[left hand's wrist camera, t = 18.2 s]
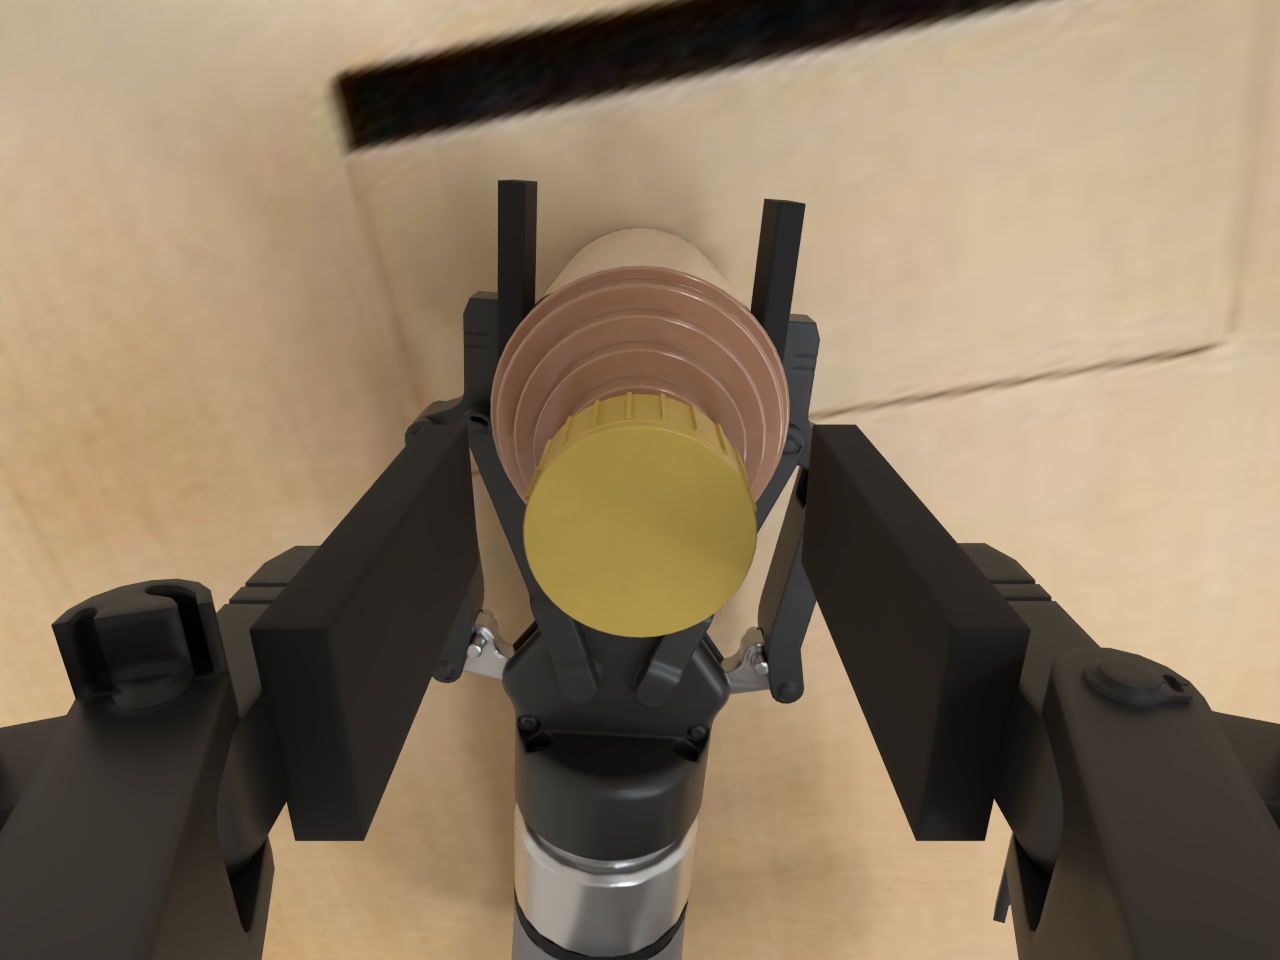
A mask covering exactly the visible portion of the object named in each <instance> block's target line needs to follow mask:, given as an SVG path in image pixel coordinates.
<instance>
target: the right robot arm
mask: <svg viewBox="0 0 1280 960" xmlns="http://www.w3.org/2000/svg"><path fill="white" fill-rule="evenodd" d="M804 211H805V204H804V203H798V202H793V201H787V200H774V199H764V207H763V215H762V223H761V231H760V239H759V247H758V255H757V264H756V272H755V280H754V288H753V296H752V304H751V313H752V315H753V316H754V317H755V318H756V320H757V321H758V322H759V324H760V325H761V326H762V327H763V329H764V330H765V331H766V333H767V335H768V336H769V338H770V340H771V342H772V343H773V345H774V347H775V349H776V351H777V353H778V356H779V358H780V361H781V363H782V366H783V369H784V373H785V377H786V381H787V385H788V394H789V403H790V406H789V426H788V432H787V438H786V443H785V446H784V449H783V453H782V456H781V459H780V461H779V463H778V466H777V468H776V470H775V472H774V474H773V476H772V478H771V480H770V481H769V483H768V485H767V486H766V488H765V489H764V491H763V493H762V494H761V496H760V497H759V499H758V500H757V501H756V503H755V504H756V507H757V511H755V515H756V520H757V533H758V532H759V530H760V528H761V526H762V525H763V523H764V521H765V519H766V518H767V516H768V514H769V513H770V511H771V509H772V507H773V506H774V504H775V502H776V500H777V499H778V497H779V495H780V494H781V492H782V490H783V488H784V487H785V485H786V483H787V481H788V480H789V478H790V476H791V475H792V473H793V471H794V469H795V468H796V466H797V465H798V466H800V467H799V470H798V474H797V477H796V480H795V484H794V487H793V491H792V494H791V497H790V501H789V504H788V508H787V511H786V514H785V518H784V521H783V524H782V528H781V531H780V535H779V538H778V541H777V545H776V548H775V551H774V555H773V558H772V562H771V565H770V568H769V572H768V575H767V578H766V582H765V585H764V589H763V592H762V595H761V599H760V604H759V610H758V627H751V628H749V629H748V630H747V631H746V634H745V635H744V636H743V638H742V639H741V643H740V648H739V650H738V651H737V653H736V654H734V655H733V656H731V657H729V658H724V657H723V656H722V655H721V653H720V652H719V650H718V649H717V647H716V646H715V644H714V643H713V641H712V640H711V639H710V637H709V636H708V634H707V633H706V631H707V629H708V628H709V626H710V624H711V622H712V619H713V617H714V614H712V615H711V616H710V617H708V618H706V619H705V620H703V621H701V622H700V623H698V624H696V625H693V626H691V627H689V628H687V629H684V630H681V631H678V632H674V633H671V634H666V635H661V636H654V637H626V636H619V635H613V634H609V633H606V632H602V631H599V630H596V629H594V628H591V627H589V626H586V625H584V624H583V623H581V622H579V621H577V620H575V619H573V618H572V617H571V616H569V615H568V614H566V613H565V612H564V611H562V610H561V609H560V608H559V607H558V606H557V605H556V604H554V603H553V602H552V601H551V599H550V598H549V597H548V596H547V595H546V594H545V592H544V591H543V590H542V588H541V587H540V585H539V584H538V582H537V581H536V579H535V577H534V575H533V573H532V571H531V569H530V566H529V563H528V560H527V557H526V554H525V548H524V542H523V521H524V514H525V509H526V506H527V505H526V504H525V503H524V501H523V500H522V499H521V497H520V496H519V495H518V493H517V491H516V490H515V488H514V486H513V485H512V483H511V481H510V479H509V478H508V476H507V474H506V472H505V471H504V468H503V466H502V463H501V461H500V459H499V456H498V454H497V450H496V446H495V442H494V438H493V433H492V425H491V393H492V387H493V380H494V376H495V373H496V370H497V366H498V363H499V360H500V358H501V356H502V354H503V351H504V349H505V347H506V345H507V343H508V341H509V340H510V338H511V336H512V335H513V333H514V332H515V330H516V329H517V327H518V326H519V324H520V323H521V322H522V321H523V319H524V318H525V317H526V316H527V314H528V313H529V312H530V311H531V309H532V308H533V307H534V306H535V271H536V221H537V181H524V180H498V292H484V291H478V292H477V293H476V294H474V295H473V296H472V297H470V299H469V301H468V304H467V306H466V309H465V311H464V314H463V323H464V395H463V396H461V397H459V398H456V399H453V400H449V401H436V402H433V403H431V404H430V405H429V406H428V407H427V408H426V409H425V410H424V411H423V412H422V413H421V414H420V416H419V417H418V418H417V419H416V420H415V421H414V422H413V423H412V424H411V425H410V427H409V428H408V430H407V432H406V434H405V443H406V445H407V444H408V443H409V442H410V441H411V440H412V438H413V437H414V436H415V435H416V434H417V433H418V431H419V430H420V429H421V428H422V427H423V426H424V425H467V429H468V440H469V446H470V449H471V451H472V453H473V456H474V458H475V461H476V463H477V466H478V468H479V471H480V473H481V475H482V478H483V480H484V483H485V485H486V488H487V490H488V493H489V495H490V498H491V500H492V502H493V505H494V507H495V510H496V512H497V515H498V517H499V520H500V522H501V524H502V527H503V529H504V532H505V534H506V537H507V539H508V542H509V544H510V547H511V549H512V551H513V554H514V556H515V559H516V561H517V564H518V566H519V569H520V571H521V573H522V576H523V578H524V581H525V583H526V586H527V588H528V591H529V595H530V604H531V609H532V612H533V615H534V618H535V621H534V622H533V623H532V624H531V625H530V626H529V627H528V629H527V630H526V631H525V632H524V633H523V634H522V635H521V636H520V637H519V638H518V640H517V641H516V642H515V643H514V644H513V645H510V644H508V643H506V642H504V641H503V640H502V639H501V637H500V636H499V633H498V624H497V621H496V620H495V619H494V617H493V614H492V613H491V611H489V610H482V607H483V601H484V580H483V573H482V566H481V559H480V553H479V546H478V555H479V563H478V566H477V568H476V571H475V573H474V576H473V578H472V580H471V583H470V585H469V588H468V590H467V592H466V595H465V597H464V600H463V602H462V605H461V607H460V609H459V612H458V614H457V617H456V619H455V621H454V624H453V626H452V629H451V631H450V634H449V636H448V638H447V641H446V643H445V646H444V648H443V651H442V653H441V655H440V658H439V660H438V663H437V665H436V667H435V670H434V672H433V675H432V677H433V678H434V679H436V680H437V681H440V682H443V683H450V682H454V681H456V680H457V679H459V678H460V676H461V674H462V671H467V672H471V673H475V674H479V675H483V676H487V677H491V678H495V679H499V680H502V683H503V687H504V689H505V692H506V693H507V695H508V696H509V698H510V699H511V701H512V703H513V705H514V708H515V713H516V740H515V796H516V804H515V809H514V896H515V908H514V927H513V946H512V960H681V959H682V947H683V936H684V924H685V913H686V908H687V904H688V896H689V891H690V886H691V881H692V873H693V866H694V858H695V851H696V843H697V836H698V828H699V810H700V807H701V802H702V795H703V787H704V779H705V772H706V764H707V756H708V749H709V741H710V734H711V727H712V723H713V720H714V718H715V717H716V715H717V713H718V712H719V711H720V710H721V709H722V707H723V706H724V705H725V704H726V702H727V700H728V698H729V695H730V694H736V693H744V692H752V691H760V690H768V689H770V691H771V694H772V697H773V698H774V699H775V700H776V701H778V702H780V703H788V704H789V703H792V702H795V701H797V700H798V699H799V698H800V697H801V696H802V694H803V691H804V683H803V672H802V661H801V650H800V649H801V646H802V643H803V640H804V637H805V634H806V631H807V628H808V625H809V622H810V619H811V615H812V612H813V609H814V606H815V603H816V597H815V595H814V592H813V590H812V588H811V585H810V583H809V580H808V578H807V576H806V573H805V571H804V568H803V566H802V563H801V555H802V544H803V532H804V521H805V509H806V498H807V486H808V475H809V463H810V452H811V440H812V429H813V425H816V424H814V423H812V422H810V421H809V420H808V411H809V405H810V398H811V392H812V386H813V379H814V371H815V367H816V358H817V354H818V348H819V342H820V338H819V334H818V330H817V326H816V323H815V322H814V321H813V320H812V319H811V318H810V317H808V316H807V315H800V314H790V310H791V303H792V296H793V289H794V281H795V274H796V267H797V260H798V253H799V246H800V239H801V232H802V225H803V218H804ZM477 544H478V539H477Z"/></svg>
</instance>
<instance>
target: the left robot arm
mask: <svg viewBox="0 0 1280 960" xmlns="http://www.w3.org/2000/svg"><path fill="white" fill-rule="evenodd" d="M478 563H479V555H478V544H477V532H476V521H475V509H474V498H473V486H472V475H471V463H470V452H469V440H468V429H467V425H424V426H423V427H422V428H421V429H420V430H419V431H418V433H417V434H416V435H415V436H414V437H413V438H412V440H411V441H410V442H409V443H408V444H407V445H406V447H405V448H404V449H403V450H402V451H401V452H400V454H399V455H398V456H397V457H396V458H395V459H394V461H393V462H392V463H391V464H390V465H389V466H388V468H387V469H386V470H385V471H384V472H383V473H382V475H381V476H380V477H379V478H378V479H377V480H376V482H375V483H374V484H373V485H372V486H371V487H370V489H369V490H368V491H367V492H366V493H365V494H364V496H363V497H362V498H361V499H360V500H359V501H358V503H357V504H356V505H355V506H354V507H353V508H352V510H351V511H350V512H349V513H348V514H347V515H346V517H345V518H344V519H343V520H342V521H341V522H340V524H339V525H338V526H337V527H336V528H335V529H334V531H333V532H332V533H331V534H330V535H329V536H328V538H327V539H326V540H325V541H324V542H323V543H322V545H321V546H295V547H293V548H291V549H289V550H287V551H286V552H284V553H282V554H280V555H278V556H276V557H275V558H273V559H271V560H269V561H267V562H266V563H264V564H263V565H262V566H261V567H260V568H259V569H258V570H257V572H256V573H255V574H254V575H253V576H252V577H251V578H250V579H249V580H248V581H247V582H246V583H245V584H246V585H245V587H241V588H240V589H239V590H238V591H237V592H236V593H235V594H234V595H233V596H232V598H231V599H230V600H229V604H225V605H224V606H223V607H222V608H221V609H220V610H219V611H218V612H217V613H216V612H215V607H214V603H213V599H212V595H211V590H209V589H208V588H206V587H205V586H203V585H202V584H201V583H199V582H194V581H188V580H182V579H166V580H150V581H145V582H140V583H136V584H131V585H126V586H121V587H118V588H116V589H113V590H110V591H107V592H104V593H101V594H98V595H96V596H93V597H91V598H89V599H87V600H85V601H83V602H81V603H80V604H78V605H76V606H74V607H72V608H70V609H68V610H67V611H66V612H65V613H64V614H63V615H61V616H60V617H59V618H58V619H57V620H56V621H55V622H54V623H53V624H52V628H53V631H54V634H55V637H56V641H57V644H58V647H59V650H60V653H61V656H62V659H63V662H64V665H65V668H66V671H67V674H68V677H69V680H70V683H71V686H72V689H73V692H74V695H75V698H76V699H75V701H74V703H73V705H72V707H71V708H70V710H69V712H68V714H67V715H64V716H60V717H55V718H50V719H44V720H39V721H34V722H29V723H23V724H18V725H13V726H8V727H2V728H0V960H262V953H263V946H264V939H265V932H266V925H267V918H268V911H269V904H270V897H271V890H272V883H273V876H274V869H275V868H274V861H273V854H272V849H271V845H270V840H269V836H268V833H269V832H270V830H271V828H272V826H273V825H274V823H275V821H276V819H277V817H278V816H279V814H280V812H281V810H282V809H283V807H284V805H285V803H286V801H287V805H288V810H289V814H290V819H291V823H292V828H293V833H294V837H295V841H364V839H365V837H366V834H367V832H368V829H369V827H370V825H371V822H372V820H373V817H374V815H375V813H376V810H377V808H378V805H379V803H380V800H381V798H382V796H383V793H384V791H385V788H386V786H387V784H388V781H389V779H390V776H391V774H392V771H393V769H394V767H395V764H396V762H397V759H398V757H399V755H400V752H401V750H402V747H403V745H404V742H405V740H406V738H407V735H408V733H409V730H410V728H411V725H412V723H413V721H414V718H415V716H416V713H417V711H418V709H419V706H420V704H421V701H422V699H423V696H424V694H425V692H426V689H427V687H428V684H429V682H430V680H431V677H432V675H433V672H434V670H435V667H436V665H437V663H438V660H439V658H440V655H441V653H442V651H443V648H444V646H445V643H446V641H447V638H448V636H449V634H450V631H451V629H452V626H453V624H454V621H455V619H456V617H457V614H458V612H459V609H460V607H461V605H462V602H463V600H464V597H465V595H466V592H467V590H468V588H469V585H470V583H471V580H472V578H473V576H474V573H475V571H476V568H477V566H478ZM801 563H802V566H803V568H804V571H805V573H806V576H807V578H808V580H809V583H810V585H811V588H812V590H813V592H814V595H815V597H816V600H817V602H818V605H819V607H820V609H821V612H822V614H823V617H824V619H825V621H826V624H827V626H828V629H829V631H830V634H831V636H832V638H833V641H834V643H835V646H836V648H837V651H838V653H839V655H840V658H841V660H842V663H843V665H844V667H845V670H846V672H847V675H848V677H849V680H850V682H851V684H852V687H853V689H854V692H855V694H856V696H857V699H858V701H859V704H860V706H861V709H862V711H863V713H864V716H865V718H866V721H867V723H868V725H869V728H870V730H871V733H872V735H873V738H874V740H875V742H876V745H877V747H878V750H879V752H880V755H881V757H882V759H883V762H884V764H885V767H886V769H887V771H888V774H889V776H890V779H891V781H892V784H893V786H894V788H895V791H896V793H897V796H898V798H899V800H900V803H901V805H902V808H903V810H904V813H905V815H906V817H907V820H908V822H909V825H910V827H911V829H912V832H913V834H914V837H915V839H916V841H985V837H986V833H987V828H988V823H989V819H990V814H991V810H992V805H993V801H994V799H995V801H996V803H997V804H998V806H999V808H1000V810H1001V812H1002V813H1003V815H1004V817H1005V819H1006V820H1007V822H1008V824H1009V826H1010V827H1011V829H1012V831H1013V832H1012V836H1011V840H1010V845H1009V849H1008V853H1007V857H1006V862H1005V866H1004V870H1003V874H1002V879H1001V883H1000V887H999V891H998V896H997V900H996V905H995V912H994V918H993V920H995V921H998V922H1002V923H1005V919H1006V915H1007V911H1008V907H1009V905H1010V904H1011V909H1012V916H1013V923H1014V930H1015V937H1016V944H1017V951H1018V958H1019V960H1280V724H1276V723H1271V722H1266V721H1261V720H1255V719H1250V718H1245V717H1239V716H1234V715H1229V714H1224V713H1219V712H1214V711H1212V710H1211V709H1210V707H1209V705H1208V703H1207V702H1206V700H1205V698H1204V697H1203V696H1202V695H1201V694H1200V692H1199V691H1198V690H1197V689H1196V688H1195V687H1194V686H1193V685H1192V683H1191V682H1190V681H1188V680H1187V679H1185V678H1183V677H1182V676H1180V675H1179V674H1177V673H1176V672H1174V671H1173V670H1171V669H1170V668H1168V667H1166V666H1164V665H1162V664H1159V663H1157V662H1154V661H1152V660H1150V659H1147V658H1145V657H1142V656H1140V655H1137V654H1132V653H1128V652H1124V651H1120V650H1116V649H1112V648H1100V647H1099V645H1098V644H1097V643H1096V642H1095V641H1094V640H1093V639H1092V638H1091V637H1090V636H1089V635H1088V634H1087V633H1086V632H1085V631H1084V630H1083V629H1082V628H1081V627H1080V626H1079V625H1078V624H1077V623H1076V622H1075V621H1074V620H1073V619H1072V618H1071V617H1070V616H1069V615H1068V614H1067V612H1066V611H1065V610H1064V609H1063V608H1062V607H1061V606H1060V605H1059V604H1058V603H1057V602H1056V601H1052V600H1051V596H1050V595H1049V594H1048V593H1047V592H1046V591H1045V590H1044V589H1043V588H1042V587H1041V586H1040V585H1039V584H1035V580H1034V578H1033V577H1032V576H1031V575H1030V574H1029V573H1028V572H1027V571H1026V570H1025V569H1024V568H1023V567H1022V566H1021V565H1020V564H1019V563H1018V562H1017V561H1016V560H1014V559H1013V558H1011V557H1009V556H1007V555H1005V554H1003V553H1002V552H1000V551H998V550H996V549H994V548H993V547H991V546H989V545H987V544H985V543H957V542H956V541H955V540H954V539H953V538H952V536H951V535H950V534H949V533H948V532H947V531H946V529H945V528H944V527H943V526H942V525H941V524H940V522H939V521H938V520H937V519H936V518H935V517H934V515H933V514H932V513H931V512H930V511H929V510H928V508H927V507H926V506H925V505H924V504H923V503H922V501H921V500H920V499H919V498H918V497H917V496H916V494H915V493H914V492H913V491H912V490H911V489H910V487H909V486H908V485H907V484H906V483H905V482H904V480H903V479H902V478H901V477H900V476H899V475H898V473H897V472H896V471H895V470H894V469H893V468H892V466H891V465H890V464H889V463H888V462H887V461H886V459H885V458H884V457H883V456H882V455H881V454H880V452H879V451H878V450H877V449H876V448H875V447H874V445H873V444H872V443H871V442H870V441H869V440H868V438H867V437H866V436H865V435H864V434H863V433H862V431H861V430H860V429H859V428H858V427H857V426H856V425H813V429H812V440H811V452H810V463H809V475H808V486H807V498H806V509H805V521H804V532H803V544H802V555H801Z"/></svg>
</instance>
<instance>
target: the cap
mask: <svg viewBox="0 0 1280 960" xmlns="http://www.w3.org/2000/svg"><path fill="white" fill-rule="evenodd" d="M747 480H748V477H747V474H746V471H745V468H744V466H743V463H742V460H741V457H740V454H739V452H738V450H737V448H736V449H733V447H732V445H731V443H730V442H729V441H728V439H727V438H726V436H725V435H724V433H723V430H722V427H721V425H720V424H719V423H718V424H717V425H716V424H715V423H714V422H712V421H711V420H710V419H709V418H708V417H706V416H705V415H704V414H702V413H701V412H699V411H698V410H697V408H696V406H695V405H693V404H692V405H691V406H689V405H686V404H684V403H682V402H680V401H677V400H674V399H670V398H667V397H665V394H660V396H657V395H647V394H633V395H632V392H627V395H623V396H618V397H613V398H609V399H606V400H603V401H601V402H600V400H599V399H598V400H596V401H595V403H594V404H593V405H591V406H589V407H587V408H585V409H584V410H582V411H581V412H579V413H578V414H576V415H575V416H573V417H572V416H571V415H570V416H569V417H568V418H567V421H566V424H564V425H563V426H562V428H561V429H560V430H559V431H558V432H557V433H556V435H555V436H554V437H553V439H552V440H551V439H548V441H547V443H546V446H545V448H544V451H543V454H542V457H541V460H540V463H539V466H536V468H535V471H534V474H533V476H532V479H531V482H530V485H529V488H528V491H527V493H526V497H525V499H526V500H528V502H527V506H526V509H525V514H524V521H523V542H524V548H525V554H526V557H527V560H528V563H529V566H530V569H531V571H532V573H533V575H534V577H535V579H536V581H537V582H538V584H539V585H540V587H541V588H542V590H543V591H544V592H545V594H546V595H547V596H548V597H549V598H550V599H551V601H552V602H553V603H554V604H556V605H557V606H558V607H559V608H560V609H561V610H562V611H564V612H565V613H566V614H568V615H569V616H571V617H572V618H573V619H575V620H577V621H579V622H581V623H583V624H584V625H586V626H589V627H591V628H594V629H596V630H599V631H602V632H606V633H609V634H613V635H619V636H626V637H654V636H661V635H666V634H671V633H674V632H678V631H681V630H684V629H687V628H689V627H691V626H693V625H696V624H698V623H700V622H701V621H703V620H705V619H706V618H708V617H710V616H711V615H712V614H714V613H715V612H716V611H718V610H719V609H720V608H721V607H722V606H723V605H724V604H725V603H726V602H727V601H728V600H729V599H731V597H732V596H733V595H734V594H735V592H736V591H737V590H738V588H739V587H740V586H741V584H742V582H743V580H744V579H745V577H746V575H747V573H748V571H749V568H750V566H751V564H752V561H753V557H754V553H755V549H756V541H757V520H756V515H755V511H757V507H756V504H755V501H754V498H753V495H752V492H751V490H750V487H749V484H748V481H747Z"/></svg>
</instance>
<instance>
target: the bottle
mask: <svg viewBox="0 0 1280 960" xmlns="http://www.w3.org/2000/svg"><path fill="white" fill-rule="evenodd" d="M627 392H632V395H633V394H647V395H657V396H660V394H665V397H667V398H670V399H674V400H677V401H680V402H682V403H684V404H686V405H689V406H691V405H692V404H693V405H695V406H696V408H697V410H698V411H699V412H701V413H702V414H704V415H705V416H706V417H708V418H709V419H710V420H711V421H712V422H714V423H715V424H716V425H717V424H718V423H719V424H720V425H721V427H722V430H723V433H724V435H725V436H726V438H727V439H728V441H729V442H730V443H731V445H732V447H733V449H736V448H737V450H738V452H739V454H740V457H741V460H742V463H743V466H744V468H745V471H746V474H747V477H748V480H747V481H748V484H749V487H750V490H751V492H752V495H753V498H754V501H755V503H756V501H757V500H758V499H759V497H760V496H761V494H762V493H763V491H764V489H765V488H766V486H767V485H768V483H769V481H770V480H771V478H772V476H773V474H774V472H775V470H776V468H777V466H778V463H779V461H780V459H781V456H782V453H783V449H784V446H785V443H786V438H787V432H788V426H789V406H790V403H789V394H788V385H787V381H786V377H785V373H784V369H783V366H782V363H781V361H780V358H779V356H778V353H777V351H776V349H775V347H774V345H773V343H772V342H771V340H770V338H769V336H768V335H767V333H766V331H765V330H764V329H763V327H762V326H761V325H760V324H759V322H758V321H757V320H756V318H755V317H754V316H753V315H752V313H751V312H750V311H749V310H748V308H747V307H746V306H745V305H744V303H743V302H742V301H741V300H740V298H739V297H738V296H737V294H736V293H735V292H734V291H733V289H732V288H731V287H730V286H729V284H728V283H727V282H726V281H725V279H724V278H723V277H722V276H721V274H720V273H719V272H718V271H717V269H716V268H715V267H714V265H713V264H712V263H711V262H710V260H709V259H708V258H707V257H706V256H705V255H704V254H703V253H702V252H701V251H700V250H699V249H697V248H696V247H695V246H693V245H692V244H691V243H689V242H688V241H686V240H684V239H682V238H680V237H679V236H676V235H674V234H671V233H668V232H665V231H661V230H657V229H649V228H629V229H624V230H619V231H615V232H612V233H609V234H606V235H604V236H602V237H600V238H598V239H596V240H594V241H592V242H591V243H589V244H588V245H586V246H585V247H584V248H583V249H581V250H580V251H579V252H578V253H577V254H576V255H575V256H574V257H573V258H572V259H571V261H570V262H569V263H568V264H567V265H566V267H565V268H564V269H563V270H562V272H561V273H560V274H559V275H558V277H557V278H556V279H555V280H554V282H553V283H552V284H551V285H550V287H549V288H548V289H547V290H546V292H545V293H544V294H543V295H542V297H541V298H540V299H539V300H538V302H537V303H536V304H535V306H534V307H533V308H532V309H531V311H530V312H529V313H528V314H527V316H526V317H525V318H524V319H523V321H522V322H521V323H520V324H519V326H518V327H517V329H516V330H515V332H514V333H513V335H512V336H511V338H510V340H509V341H508V343H507V345H506V347H505V349H504V351H503V354H502V356H501V358H500V360H499V363H498V366H497V370H496V373H495V376H494V380H493V387H492V393H491V425H492V433H493V438H494V442H495V446H496V450H497V454H498V456H499V459H500V461H501V463H502V466H503V468H504V471H505V472H506V474H507V476H508V478H509V479H510V481H511V483H512V485H513V486H514V488H515V490H516V491H517V493H518V495H519V496H520V497H521V499H522V500H523V501H524V503H525V504H526V505H527V502H528V500H526V499H525V497H526V493H527V491H528V488H529V485H530V482H531V479H532V476H533V474H534V471H535V468H536V466H539V463H540V460H541V457H542V454H543V451H544V448H545V446H546V443H547V441H548V439H551V440H552V439H553V437H554V436H555V435H556V433H557V432H558V431H559V430H560V429H561V428H562V426H563V425H564V424H566V421H567V418H568V417H569V416H570V415H571V416H572V417H573V416H575V415H576V414H578V413H579V412H581V411H582V410H584V409H585V408H587V407H589V406H591V405H593V404H594V403H595V401H596V400H598V399H599V400H600V402H601V401H603V400H606V399H609V398H613V397H618V396H623V395H627Z"/></svg>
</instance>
